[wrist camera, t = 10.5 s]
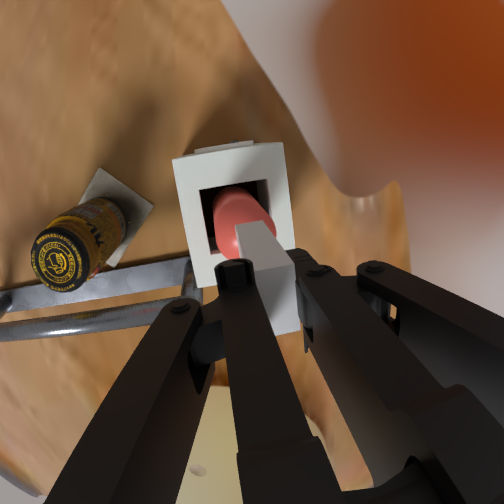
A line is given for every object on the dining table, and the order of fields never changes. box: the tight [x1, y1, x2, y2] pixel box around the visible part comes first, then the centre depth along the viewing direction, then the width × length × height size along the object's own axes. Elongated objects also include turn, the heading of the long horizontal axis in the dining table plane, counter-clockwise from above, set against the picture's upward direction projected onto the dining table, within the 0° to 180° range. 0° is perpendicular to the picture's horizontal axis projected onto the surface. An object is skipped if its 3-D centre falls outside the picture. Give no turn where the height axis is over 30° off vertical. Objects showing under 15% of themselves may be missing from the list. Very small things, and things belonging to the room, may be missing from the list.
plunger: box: [212, 186, 277, 260], centre depth 23 cm, size 4×4×9 cm
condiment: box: [31, 167, 154, 293], centre depth 27 cm, size 7×8×12 cm
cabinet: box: [172, 140, 295, 288], centre depth 28 cm, size 11×8×10 cm
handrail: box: [0, 255, 203, 342], centre depth 29 cm, size 28×3×10 cm, turn 98°
